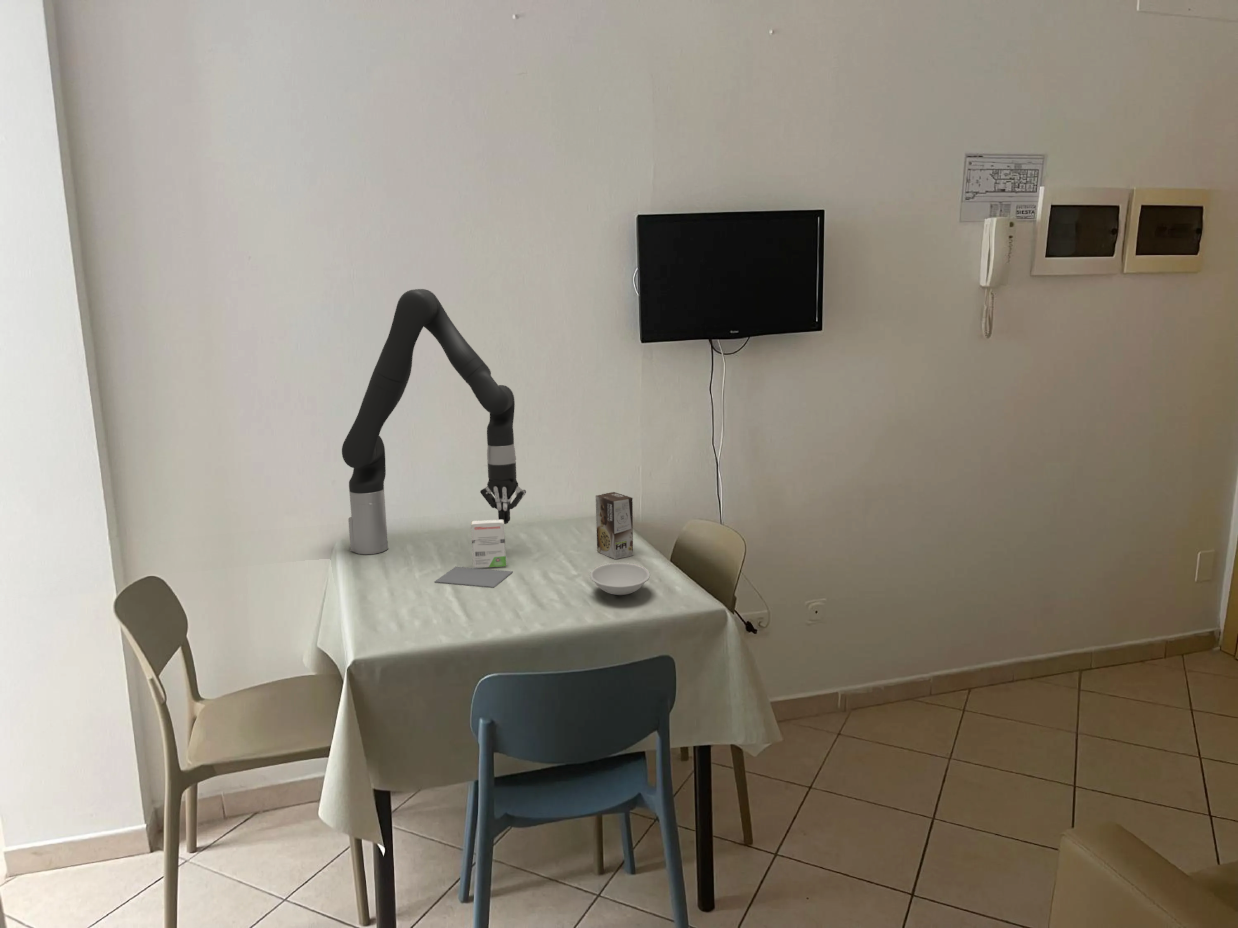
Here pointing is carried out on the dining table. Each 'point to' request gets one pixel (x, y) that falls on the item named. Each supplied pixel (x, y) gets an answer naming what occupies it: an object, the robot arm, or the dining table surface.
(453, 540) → the dining table surface
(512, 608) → the dining table surface
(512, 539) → the dining table surface
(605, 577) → the dish
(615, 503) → the coffee box
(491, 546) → the ink box
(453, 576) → the mat
